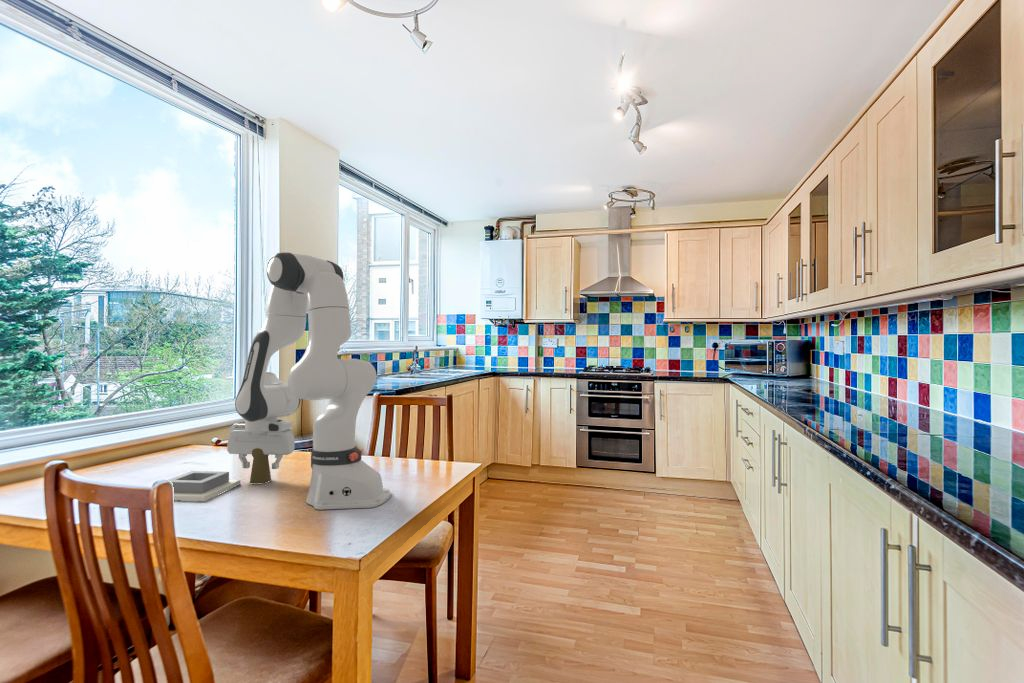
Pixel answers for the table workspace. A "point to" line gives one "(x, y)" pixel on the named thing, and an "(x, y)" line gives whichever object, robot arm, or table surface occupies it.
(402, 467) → the table surface
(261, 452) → the cork
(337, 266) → the robot arm
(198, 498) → the socket board
